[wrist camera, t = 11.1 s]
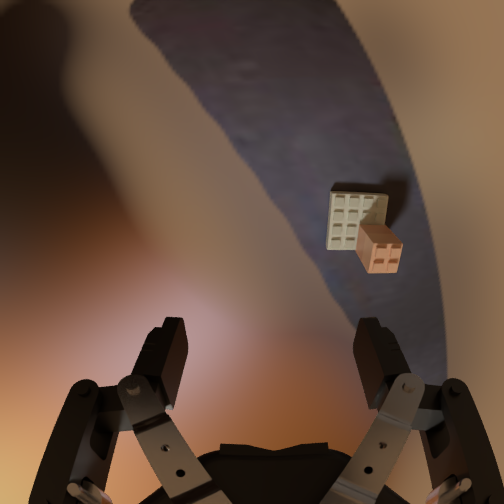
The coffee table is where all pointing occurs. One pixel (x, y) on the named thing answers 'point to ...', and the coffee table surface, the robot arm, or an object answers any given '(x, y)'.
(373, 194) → the stud plate
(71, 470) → the robot arm
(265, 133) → the coffee table surface
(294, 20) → the coffee table surface
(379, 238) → the brick stack
